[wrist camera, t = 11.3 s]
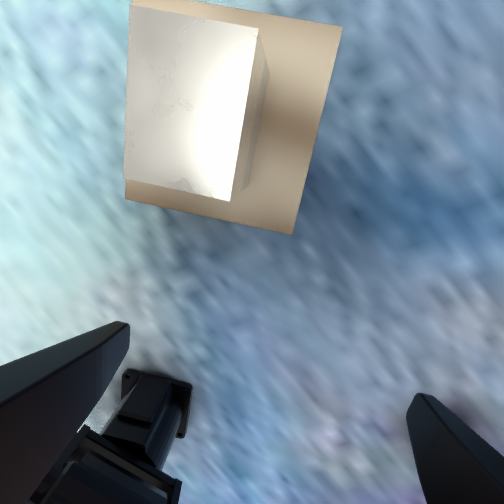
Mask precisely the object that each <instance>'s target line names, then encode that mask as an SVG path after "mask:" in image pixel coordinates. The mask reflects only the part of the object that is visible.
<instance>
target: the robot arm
mask: <svg viewBox="0 0 504 504" xmlns="http://www.w3.org/2000/svg"><path fill="white" fill-rule="evenodd" d="M129 343H130V325H129V324H128V323H124V322H120V321H115V322H112V323H110V324H107V325H104V326H102V327H99V328H97V329H94V330H92V331H89V332H86V333H84V334H81V335H79V336H76V337H74V338H71V339H68V340H66V341H63V342H61V343H58V344H56V345H53V346H50V347H48V348H45V349H43V350H40V351H38V352H35V353H32V354H30V355H27V356H25V357H22V358H20V359H17V360H14V361H12V362H9V363H7V364H4V365H2V366H0V504H178V501H179V496H180V491H181V485H182V481H180V480H178V479H177V478H175V479H174V478H172V477H171V476H169V475H167V474H165V473H164V472H162V468H163V466H164V463H165V461H166V458H167V456H168V453H169V451H170V448H171V446H172V443H173V441H174V438H175V437H176V438H184V437H185V434H186V430H187V424H188V417H189V410H190V404H191V397H192V390H193V388H192V386H191V385H190V384H187V383H183V382H179V381H174V380H170V379H166V378H162V377H158V376H154V375H150V374H146V373H142V372H138V371H134V370H130V369H127V370H125V372H124V373H123V375H122V393H121V402H120V404H119V405H118V407H117V408H116V410H115V411H114V413H113V414H112V416H111V417H110V419H109V420H108V422H107V423H106V425H105V426H104V428H103V429H102V430H101V432H100V433H99V434H98V433H96V432H94V431H93V430H91V429H90V427H89V426H87V425H85V424H84V425H83V427H82V428H81V429H80V431H79V432H78V433H77V431H78V429H79V428H80V426H81V425H82V424H83V422H84V421H85V419H86V418H87V417H88V415H89V414H90V412H91V411H92V410H93V408H94V407H95V405H96V404H97V403H98V401H99V400H100V398H101V397H102V395H103V393H104V392H105V390H106V388H107V387H108V385H109V383H110V381H111V380H112V378H113V376H114V374H115V373H116V371H117V369H118V367H119V366H120V364H121V362H122V360H123V359H124V357H125V355H126V353H127V351H128V349H129ZM186 389H187V390H186ZM406 422H407V426H408V431H409V436H410V440H411V445H412V449H413V454H414V459H415V463H416V468H417V472H418V476H419V480H420V483H421V486H422V490H423V493H424V496H425V499H426V502H427V504H504V457H503V456H502V455H501V454H500V453H499V452H498V451H496V450H495V449H494V448H493V447H492V446H491V445H489V444H488V443H487V442H486V441H485V440H484V439H482V438H481V437H480V436H479V435H478V434H477V433H476V432H474V431H473V430H472V429H471V428H470V427H469V426H467V425H466V424H465V423H464V422H463V421H462V420H460V419H459V418H458V417H457V416H456V415H455V414H454V413H452V412H451V411H450V410H449V409H448V408H447V407H445V406H444V405H443V404H442V403H441V402H440V401H438V400H437V399H436V398H435V397H434V396H432V395H428V394H424V393H417V394H416V395H415V397H414V399H413V401H412V403H411V405H410V407H409V409H408V411H407V414H406Z"/></svg>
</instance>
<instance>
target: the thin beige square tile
mask: <svg viewBox="0 0 504 504" xmlns="http://www.w3.org/2000/svg"><path fill="white" fill-rule="evenodd" d="M132 5H135V6H140V7H146V8H151V9H157V10H162V11H167V12H173V13H178V14H183V15H189V16H194V17H200V18H205V19H210V20H216V21H221V22H226V23H232V24H237V25H242V26H248V27H253V28H258V29H259V33H260V36H261V40H262V44H263V48H264V52H265V56H266V60H267V64H268V68H269V72H270V74H269V80H268V85H267V91H266V96H265V101H264V107H263V112H262V117H261V123H260V128H259V133H258V139H257V144H256V149H255V155H254V160H253V166H252V171H251V176H250V182H249V185H248V186H247V187H246V188H245V189H244V190H242V191H241V192H240V193H239V194H238V195H236V196H235V197H234V198H233V199H232V200H230V201H226V200H222V199H217V198H213V197H208V196H203V195H199V194H194V193H190V192H185V191H181V190H176V189H171V188H167V187H162V186H158V185H153V184H148V183H144V182H139V181H135V180H130V179H126V190H125V199H127V200H131V201H136V202H141V203H145V204H150V205H155V206H159V207H164V208H169V209H173V210H178V211H183V212H187V213H192V214H197V215H201V216H206V217H211V218H215V219H220V220H225V221H229V222H234V223H239V224H243V225H248V226H253V227H257V228H262V229H267V230H271V231H276V232H281V233H285V234H290V235H292V233H293V229H294V225H295V221H296V217H297V213H298V209H299V205H300V201H301V197H302V193H303V188H304V184H305V180H306V176H307V172H308V168H309V164H310V160H311V156H312V152H313V148H314V144H315V140H316V136H317V131H318V127H319V123H320V119H321V115H322V111H323V107H324V103H325V99H326V95H327V91H328V87H329V83H330V78H331V74H332V70H333V66H334V62H335V58H336V54H337V50H338V46H339V42H340V38H341V34H342V30H343V27H340V26H334V25H328V24H322V23H317V22H311V21H305V20H300V19H294V18H288V17H282V16H277V15H271V14H265V13H260V12H254V11H248V10H242V9H237V8H231V7H225V6H220V5H214V4H208V3H202V2H197V1H191V0H132Z"/></svg>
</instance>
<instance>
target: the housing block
mask: <svg viewBox="0 0 504 504" xmlns="http://www.w3.org/2000/svg"><path fill="white" fill-rule="evenodd" d="M269 74H270V72H269V68H268V64H267V60H266V56H265V52H264V48H263V44H262V40H261V36H260V33H259V29H258V28H253V27H248V26H242V25H237V24H232V23H226V22H221V21H216V20H210V19H205V18H200V17H194V16H189V15H183V14H178V13H173V12H167V11H162V10H157V9H151V8H146V7H140V6H135V5H130V8H129V35H128V61H127V88H126V114H125V141H124V168H123V178H125V179H130V180H135V181H139V182H144V183H148V184H153V185H158V186H162V187H167V188H171V189H176V190H181V191H185V192H190V193H194V194H199V195H203V196H208V197H213V198H217V199H222V200H226V201H230V200H232V199H233V198H234V197H235V196H236V195H238V194H239V193H240V192H241V191H242V190H244V189H245V188H246V187H247V186H248V185H249V182H250V176H251V171H252V166H253V160H254V155H255V149H256V144H257V139H258V133H259V128H260V123H261V117H262V112H263V107H264V101H265V96H266V91H267V85H268V80H269Z"/></svg>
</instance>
